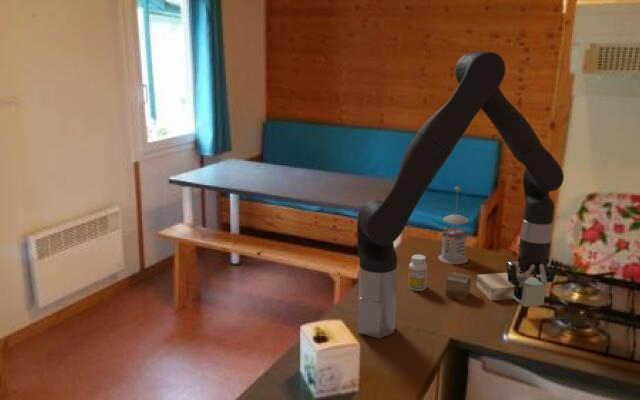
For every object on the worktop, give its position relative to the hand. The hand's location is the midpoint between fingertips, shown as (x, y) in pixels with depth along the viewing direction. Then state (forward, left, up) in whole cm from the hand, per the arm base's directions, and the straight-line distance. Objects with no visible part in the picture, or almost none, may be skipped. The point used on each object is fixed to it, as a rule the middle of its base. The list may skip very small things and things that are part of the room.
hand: (528, 297), depth 151 cm
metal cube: (+3, +20, -5) cm, 21 cm away
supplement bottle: (+2, +32, -5) cm, 32 cm away
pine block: (+11, +10, -6) cm, 16 cm away
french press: (+29, +30, -5) cm, 42 cm away
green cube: (0, 0, -1) cm, 1 cm away
